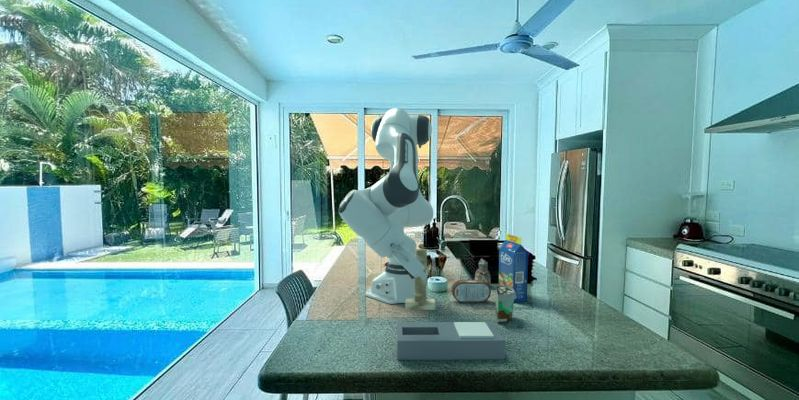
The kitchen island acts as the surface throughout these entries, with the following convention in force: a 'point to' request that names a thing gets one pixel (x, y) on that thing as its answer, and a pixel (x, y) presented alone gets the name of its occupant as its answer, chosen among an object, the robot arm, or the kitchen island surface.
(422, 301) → the T-key
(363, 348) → the kitchen island surface
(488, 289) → the tin
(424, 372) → the kitchen island surface
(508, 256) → the blue food package
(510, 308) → the food container
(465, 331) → the housing
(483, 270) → the figurine
